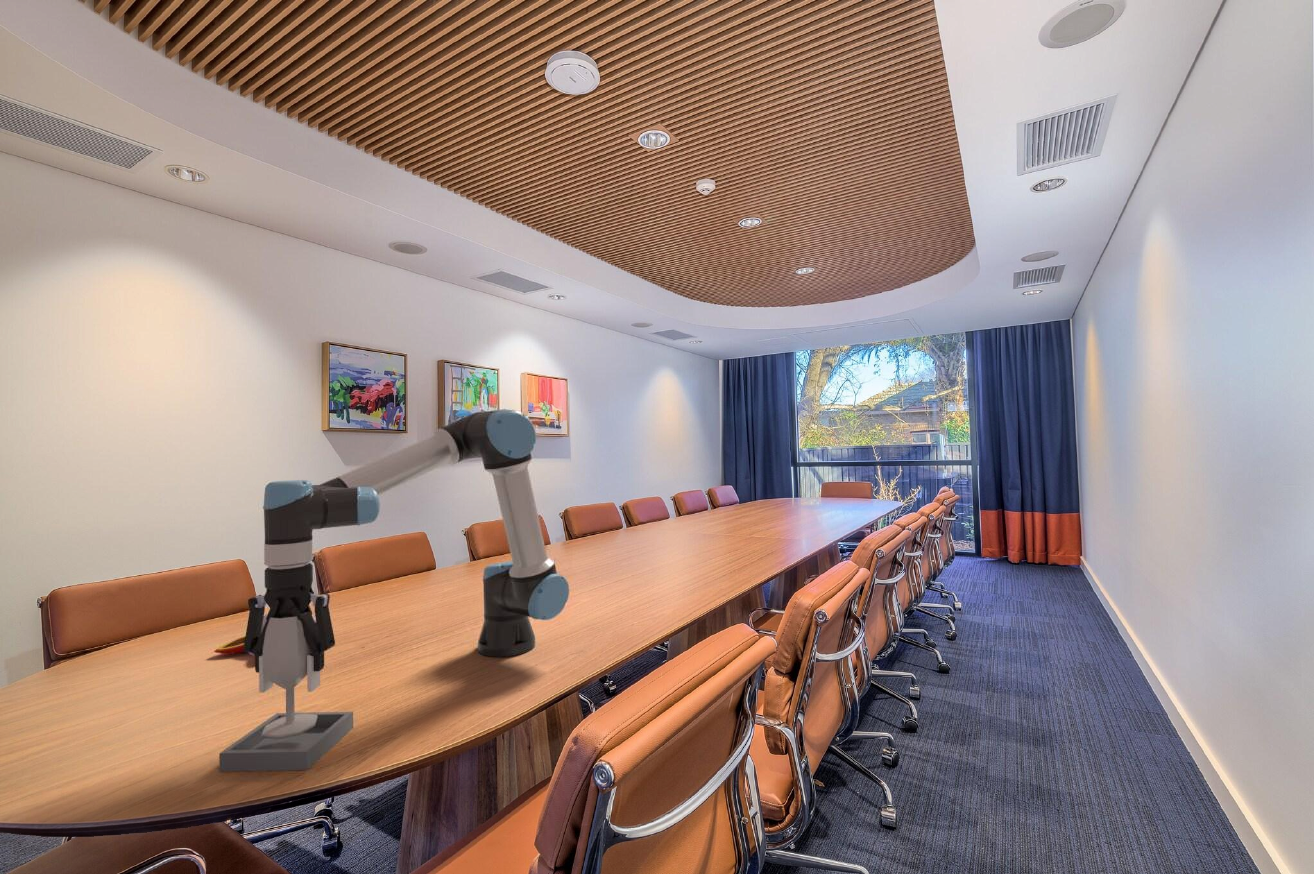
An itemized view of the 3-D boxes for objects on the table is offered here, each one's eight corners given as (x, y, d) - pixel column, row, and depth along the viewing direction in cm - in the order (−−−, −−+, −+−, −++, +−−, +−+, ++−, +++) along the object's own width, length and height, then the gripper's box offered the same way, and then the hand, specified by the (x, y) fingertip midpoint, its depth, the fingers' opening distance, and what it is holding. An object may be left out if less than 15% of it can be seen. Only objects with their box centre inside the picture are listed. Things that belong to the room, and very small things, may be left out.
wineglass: (278, 719, 111) (277, 608, 112) (326, 716, 112) (325, 606, 112) (250, 742, 102) (249, 621, 103) (303, 739, 103) (301, 619, 104)
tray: (353, 727, 115) (353, 711, 115) (307, 769, 100) (307, 751, 100) (277, 729, 115) (276, 713, 115) (219, 771, 100) (219, 753, 100)
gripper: (356, 559, 111) (357, 679, 111) (246, 561, 112) (247, 681, 111) (334, 567, 104) (335, 696, 104) (217, 570, 104) (218, 698, 104)
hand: (290, 688), depth 107 cm, fingers closed on wineglass, 8 cm apart
